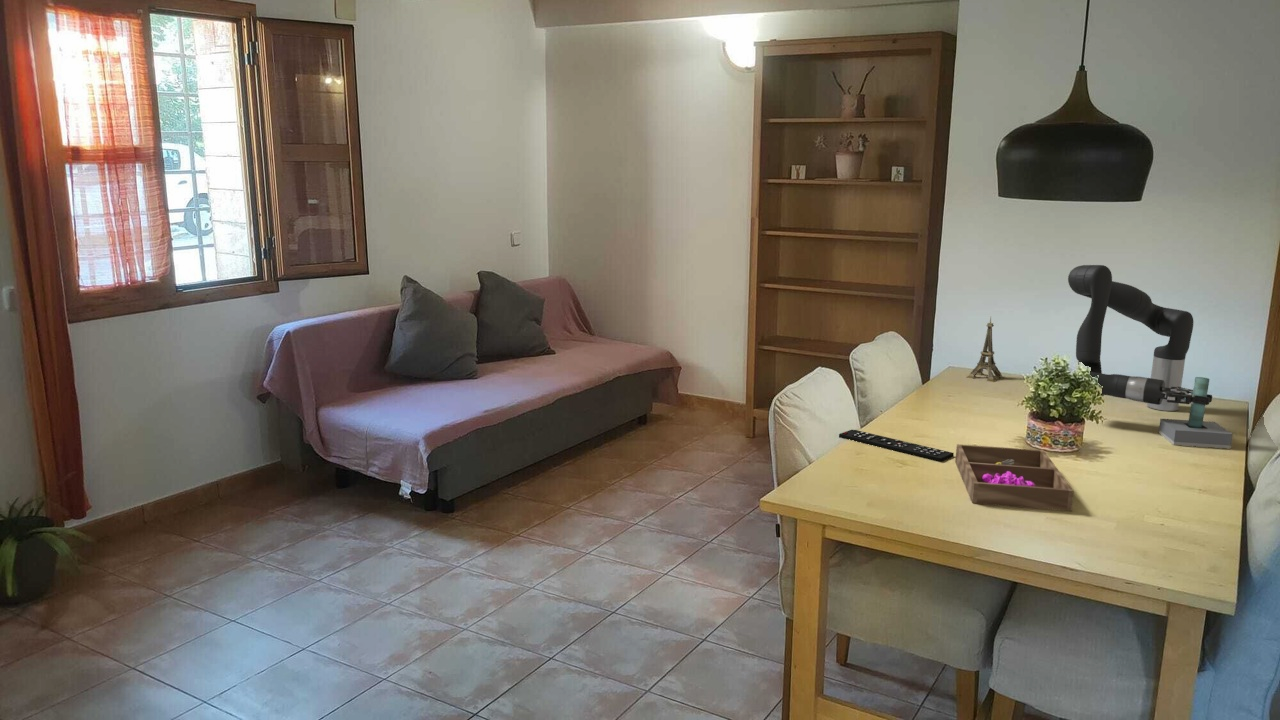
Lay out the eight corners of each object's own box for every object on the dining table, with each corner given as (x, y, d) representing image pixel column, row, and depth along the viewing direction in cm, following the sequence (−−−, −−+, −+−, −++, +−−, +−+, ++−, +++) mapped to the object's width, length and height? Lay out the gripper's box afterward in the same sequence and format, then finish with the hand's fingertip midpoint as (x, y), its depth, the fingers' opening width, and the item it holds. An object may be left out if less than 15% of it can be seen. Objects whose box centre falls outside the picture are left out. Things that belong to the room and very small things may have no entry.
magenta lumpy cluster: (980, 501, 223) (983, 475, 222) (980, 488, 232) (983, 463, 231) (1034, 509, 219) (1037, 482, 218) (1033, 496, 228) (1036, 470, 226)
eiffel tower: (966, 377, 354) (972, 312, 349) (976, 373, 362) (982, 309, 357) (994, 382, 347) (1000, 315, 342) (1004, 377, 355) (1010, 312, 350)
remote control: (851, 434, 279) (852, 427, 279) (953, 458, 257) (953, 451, 257) (837, 438, 274) (838, 432, 273) (940, 464, 252) (940, 456, 252)
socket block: (1158, 432, 284) (1160, 418, 283) (1212, 436, 281) (1214, 421, 280) (1173, 445, 271) (1175, 430, 270) (1230, 449, 268) (1232, 433, 268)
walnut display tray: (955, 461, 252) (956, 444, 251) (1041, 468, 248) (1043, 450, 247) (972, 503, 222) (974, 483, 221) (1071, 511, 217) (1073, 490, 216)
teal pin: (1185, 425, 277) (1193, 376, 274) (1199, 426, 277) (1206, 377, 274) (1190, 429, 274) (1197, 379, 271) (1203, 430, 273) (1211, 380, 270)
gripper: (1141, 381, 276) (1208, 391, 265) (1151, 374, 287) (1216, 383, 276) (1137, 406, 278) (1204, 417, 267) (1148, 398, 288) (1212, 408, 278)
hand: (1210, 400), depth 272 cm, fingers closed on teal pin, 3 cm apart
